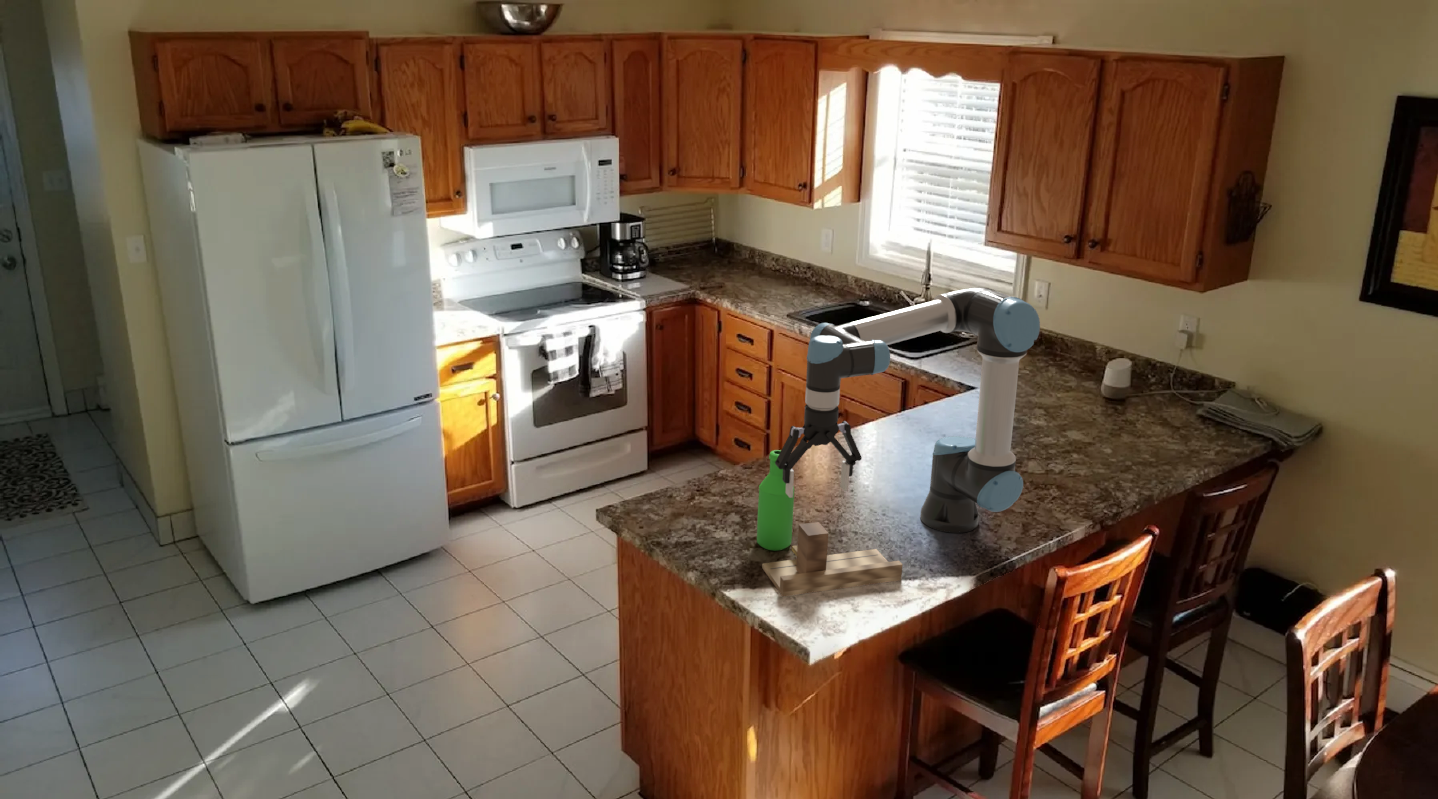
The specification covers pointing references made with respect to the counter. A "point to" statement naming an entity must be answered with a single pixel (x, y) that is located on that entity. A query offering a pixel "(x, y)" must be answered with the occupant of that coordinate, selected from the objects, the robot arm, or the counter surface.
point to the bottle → (774, 509)
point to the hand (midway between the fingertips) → (816, 492)
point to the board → (828, 567)
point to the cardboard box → (811, 548)
